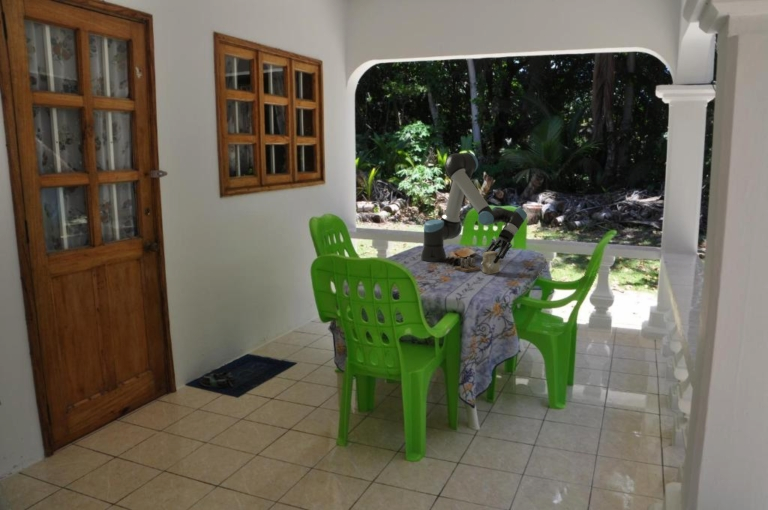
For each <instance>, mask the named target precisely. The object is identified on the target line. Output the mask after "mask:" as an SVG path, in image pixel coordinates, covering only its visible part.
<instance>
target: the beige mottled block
mask: <svg viewBox="0 0 768 510" xmlns="http://www.w3.org/2000/svg"><path fill="white" fill-rule="evenodd" d="M497 253H498V251H497V250H495V251H490V252H485V251H484V252H482V261H483V266H482V273H484V274H487V275H492V274H497V273H500V268H501V267H500V266H501V265H500V264H501V263H500V262H501V261H500V260H501V259H499V260H498V262H497V263H496V264H495V265H494V266H493V268H492V269H491V268H490V267H489V264H490V263H491V261H492V260H493V258H494V257H495V256H496V255H497Z"/></svg>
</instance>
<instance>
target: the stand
mask: <svg viewBox="0 0 768 510" xmlns="http://www.w3.org/2000/svg"><path fill="white" fill-rule="evenodd" d="M475 261H476V259H475V257H471V256H467V258H463V257H461V258H460V265H459V266H455V267H454V271H458V272H461V273H462V272H463V273H466V274H467V273H472V272H476V271H481V266H477V265H476V263H475Z"/></svg>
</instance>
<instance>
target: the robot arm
mask: <svg viewBox="0 0 768 510" xmlns="http://www.w3.org/2000/svg"><path fill="white" fill-rule="evenodd" d="M478 167H479V161H478V158H477V156H476V155H475V154H473V153H471V152H460V153H456V152H455V153H452V154H450V155H448V156H447V158H446V159H445V161H444V168H445V171H446V174H447V175H448V177H449V178H450V180H451V181H452V182H451V187H450V191H449V195H448V199H447V204H446V208H445V212H444V214H442V215H441V217H440V219H437V218H436V219H429V220H426V221H425V222H424V226H423V249H422V253H421V255H420V259H421V261H423V262H431V263H432V262H433V263H435V262H443V261H446V260H447V254H446V252H445V248H444V241H446V240H452V239H455V238H457V237H459V235H460V234H461V233H462V231H463V225H462V223H461V217H460V212H461V208H462V205H463V201H464V198H466V199H467V200H468V202H469V203H470V204H471V206H472V207H473V208H474V210H475V212H476V213H477V214H478V217H477V218H478V222H479V224H480V225H483V226H489V225H493V224H498V223H504V224H505V225H504V226H503V228H502V229H501V231H500V232H499V234H498V237H497V238H496V239H494V238H491V241H490V242H489V244H488V246H487V247H486V249H485V250H484V252H490V251H497V249H498V251H497V252H498V253H497V255H496V256H495V257H494V258H493V260H492V261H491V263H490V264H489V267H490V268H491V269H492V268H493V266H494V265H495V264H496V263H497V262H498V260H499V259H500V260H503V259H504V258H505V257H506V255H507V253H508V252H509V250H510V249H511V248H512V247H513V244H512V243H511V242H512V240H513V239H514V237H515V236H516V234H517V233H518V231H519V229H520V228H521V226H522V225H523V224H524V223H525V220H526V219H527V217H528V214H527V212H526V211H525V210H524V209H523V208H515V210H509V209H506V208H503V207H502V206H501V207H500V206H494V207H493V208H491V206H490V205H489V204H488V202H487V201H486V200H485V198H484V197H483V195H482V194H481V193H480V191H479V190H478V189H477V187H476V185H475V184H474V183H473V181H472V180H471V178H472V175H473V173H474V172H476V171H477V169H478ZM480 265H481V266H482V267H483V260H482V261H481V263H480Z"/></svg>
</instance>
